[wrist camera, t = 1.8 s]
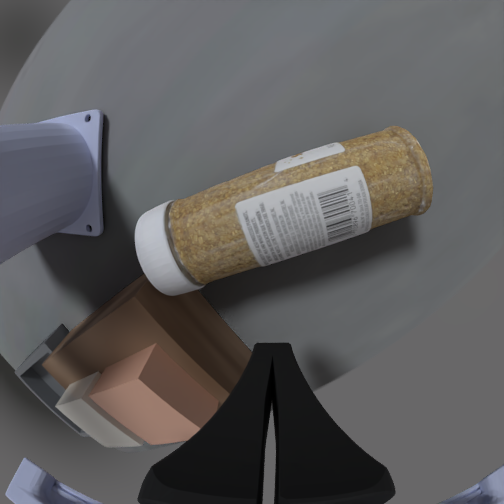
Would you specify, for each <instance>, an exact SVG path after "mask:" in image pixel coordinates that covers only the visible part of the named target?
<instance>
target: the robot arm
mask: <svg viewBox="0 0 504 504" xmlns="http://www.w3.org/2000/svg"><path fill="white" fill-rule="evenodd" d="M90 115H91V120H90V121H88V118H89V116H90ZM102 129H103V112H102V111H101V110H90V111H84V112H79V113H75V114H70V115H65V116H61V117H57V118H53V119H49V120H46V121H42V122H38V123H27V124H10V125H0V264H2V263H3V262H5V261H6V260H8V259H10V258H11V257H13V256H15V255H16V254H18V253H20V252H21V251H23V250H25V249H27V248H28V247H30V246H32V245H34V244H35V243H37V242H39V241H41V240H43V239H44V238H46V237H48V236H50V235H52V234H54V233H56V232H58V233H68V234H78V235H87V236H99V235H101V234H102V233H103V230H104V226H103V212H102V189H101V151H102ZM89 225H90V226H91V227H92V230H91V229H90V227H89ZM271 403H272V404H273V416H274V427H275V439H276V473H275V497H274V504H384V503H386V502H387V501H388V500H390V499H391V498H392V497H393V496H394V495H395V486H394V483H393V480H392V478H391V476H390V473H389V471H388V469H387V468H386V467H385V466H384V465H382V464H381V463H379V462H378V461H376V460H375V459H374V458H373V457H371V456H370V455H369V454H367V453H366V452H365V451H364V450H363V449H362V448H360V447H359V446H358V445H357V444H356V443H355V442H354V441H353V440H351V438H350V437H349V436H348V435H347V434H346V433H345V432H344V431H343V430H341V428H340V427H339V426H338V425H337V424H336V423H335V422H334V421H333V419H332V418H331V417H330V416H329V414H328V413H327V412H326V410H325V409H324V408H323V407H322V405H321V404H320V402H319V401H318V400H317V398H316V396H315V395H314V393H313V392H312V390H311V388H310V387H309V385H308V383H307V381H306V380H305V378H304V376H303V374H302V372H301V370H300V368H299V366H298V364H297V361H296V359H295V356H294V354H293V351H292V347H291V344H289V343H256V344H255V345H254V349H253V352H252V355H251V357H250V359H249V362H248V364H247V366H246V368H245V370H244V372H243V373H242V375H241V377H240V379H239V381H238V382H237V384H236V385H235V387H234V388H233V390H232V391H231V393H230V395H229V396H228V397H227V399H226V400H225V402H224V403H223V404H222V405H221V407H220V408H219V409H218V410H217V412H216V413H215V414H214V415H213V416H212V417H211V418H210V420H209V421H208V422H207V423H206V424H205V425H204V426H203V427H202V428H201V429H200V430H199V431H198V432H197V433H196V434H195V435H193V436H192V437H191V438H190V439H189V440H188V441H186V442H185V443H184V444H183V445H182V446H180V447H179V448H178V449H177V450H175V451H174V452H172V453H171V454H169V455H168V456H166V457H165V458H164V459H162V460H161V461H159V462H157V463H156V464H154V465H153V466H152V467H151V468H150V470H149V472H148V473H147V475H146V477H145V479H144V481H143V483H142V486H141V489H140V493H139V496H138V502H139V503H140V504H262V501H263V482H264V481H263V480H264V462H265V460H264V459H265V447H266V446H265V445H266V438H267V431H268V424H269V418H270V410H271ZM6 496H7V497H8V498H9V499H10V500H12V501H13V502H14V503H15V504H103V503H101V502H99V501H96V500H94V499H92V498H90V497H88V496H86V495H84V494H82V493H80V492H78V491H76V490H74V489H72V488H70V487H68V486H66V485H65V484H63V483H61V482H59V481H58V480H56V479H55V478H54V477H53V476H51V475H50V474H49V473H48V472H46V471H45V470H43V469H42V468H41V467H39V466H37V465H36V464H35V463H33V462H32V461H30V460H29V459H27V458H24V459H23V461H22V463H21V464H20V466H19V468H18V470H17V472H16V474H15V476H14V478H13V480H12V482H11V483H10V485H9V487H8V489H7V491H6ZM438 504H504V465H502V466H501V467H499V468H498V469H496V470H495V471H493V472H492V473H490V474H489V475H487V476H486V477H485V478H483V479H482V480H481V481H480V482H479V483H477V484H476V485H474V486H472V487H471V488H468V489H467V490H465V491H463V492H461V493H459V494H457V495H455V496H453V497H451V498H449V499H447V500H445V501H442V502H440V503H438Z"/></svg>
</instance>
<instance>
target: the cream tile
mask: <svg viewBox="0 0 504 504" xmlns="http://www.w3.org/2000/svg"><path fill="white" fill-rule="evenodd" d="M100 376H101V373H99V372H96V373H94V374H92V375H90V376H87V377H85V378H83V379H81V380H79V381H76V382H74V383H72V384H70V385H69V386H68V388H67V389H66V391H65V392H64V394H63V395H62V397H61V398H60V400H59V401H58V403H57V404H56V406H55V407H56V408H57V409H59V410H60V411H61V412H62V413H63V414H64V415H65V416H66V417H68V418H69V419H70V420H71V421H72V422H73V423H75V424H76V425H77V426H78V427H80V428H81V429H82V430H83V431H85V432H86V433H87V434H88V435H90V436H91V437H92V438H94V439H95V440H96V441H98V442H99V443H101V444H102V445H103V446H105V447H131V446H142V445H143V442H144V440H143V439H142V438H140V437H139V436H137V435H136V434H135V433H133V432H132V431H130V430H129V429H128V428H126V427H125V426H124V425H122V424H121V423H120V422H118V421H117V420H116V419H115V418H113V417H112V416H111V415H110V414H108V413H107V412H106V411H105V410H103V409H102V408H101V407H100V406H99V405H98V404H96V403H95V402H94V401H93V400H92V399H91V398H90V397H88V395H89V394H90V392H91V391H92V389H93V387H94V386H95V384H96V382H97V381H98V379H99V378H100Z"/></svg>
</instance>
